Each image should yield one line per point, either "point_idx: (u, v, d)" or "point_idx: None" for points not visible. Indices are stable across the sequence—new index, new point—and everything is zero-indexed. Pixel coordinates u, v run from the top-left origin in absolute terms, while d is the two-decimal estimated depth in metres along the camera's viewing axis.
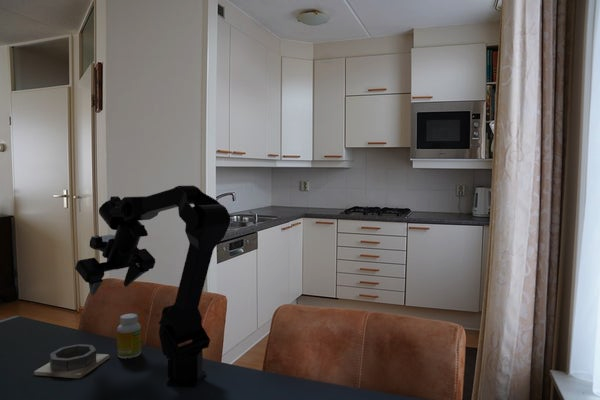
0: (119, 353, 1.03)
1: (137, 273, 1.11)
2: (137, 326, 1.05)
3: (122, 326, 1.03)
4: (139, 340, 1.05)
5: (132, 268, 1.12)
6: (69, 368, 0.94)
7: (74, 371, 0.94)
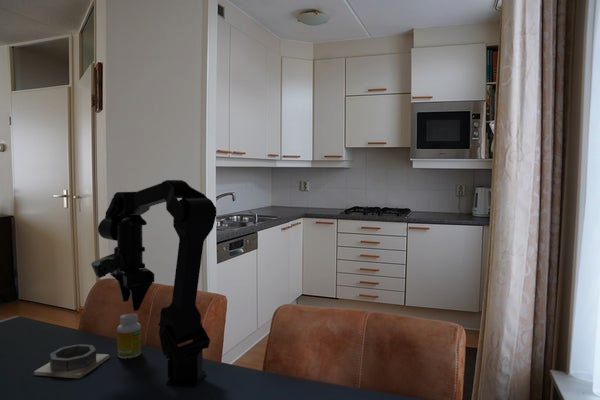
0: (119, 353, 1.03)
1: None
2: (137, 326, 1.05)
3: (122, 326, 1.03)
4: (139, 340, 1.05)
5: None
6: (69, 368, 0.94)
7: (74, 371, 0.94)
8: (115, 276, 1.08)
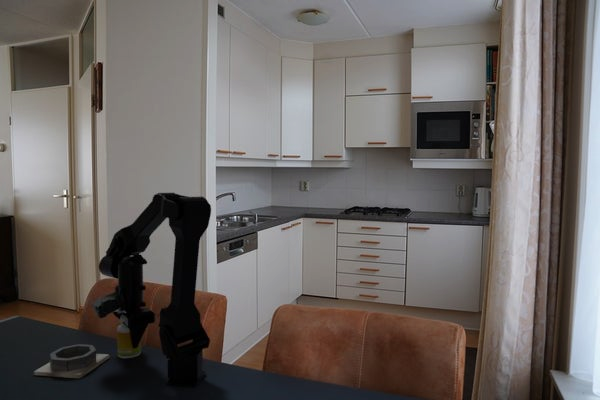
0: (119, 353, 1.03)
1: None
2: None
3: (122, 326, 1.03)
4: None
5: None
6: (69, 368, 0.94)
7: (74, 371, 0.94)
8: (117, 315, 1.07)
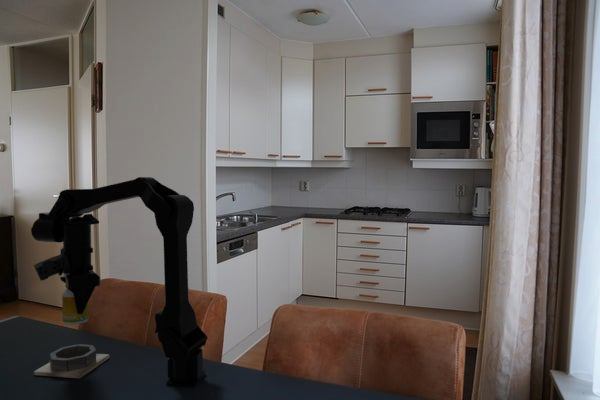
0: (63, 319, 0.97)
1: None
2: None
3: (67, 290, 0.97)
4: (86, 306, 0.99)
5: None
6: (69, 368, 0.94)
7: (74, 371, 0.94)
8: (64, 280, 1.00)
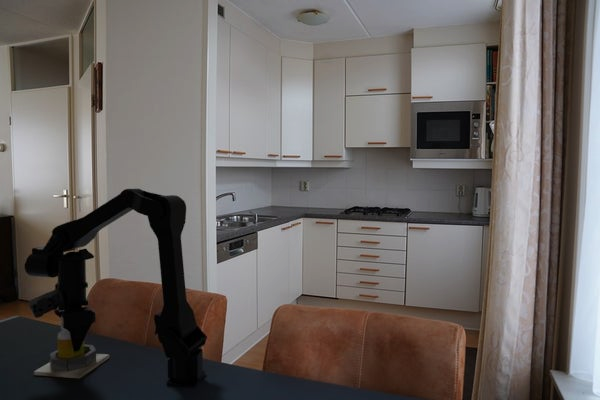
0: None
1: None
2: None
3: (62, 332, 0.97)
4: (81, 347, 0.98)
5: None
6: (69, 368, 0.94)
7: (74, 371, 0.94)
8: (58, 314, 1.01)
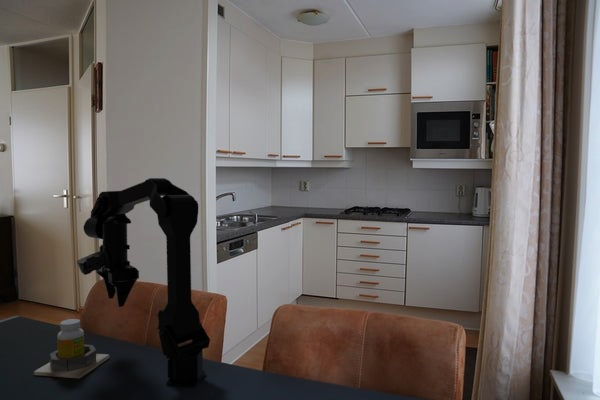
0: None
1: None
2: (79, 333, 0.98)
3: (62, 333, 0.96)
4: (81, 347, 0.98)
5: None
6: (69, 368, 0.94)
7: (74, 371, 0.94)
8: (100, 274, 1.11)
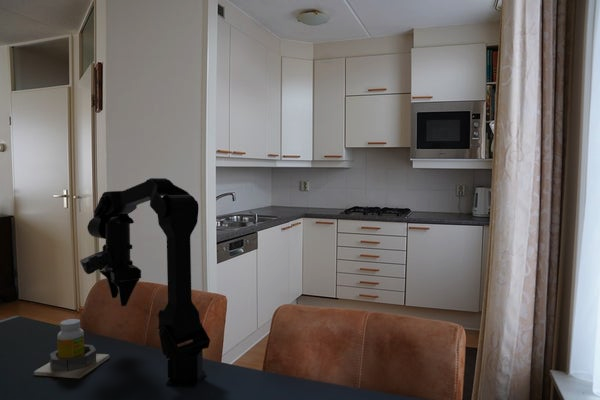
0: None
1: None
2: (79, 333, 0.98)
3: (62, 333, 0.96)
4: (81, 347, 0.98)
5: None
6: (69, 368, 0.94)
7: (74, 371, 0.94)
8: (104, 273, 1.12)
